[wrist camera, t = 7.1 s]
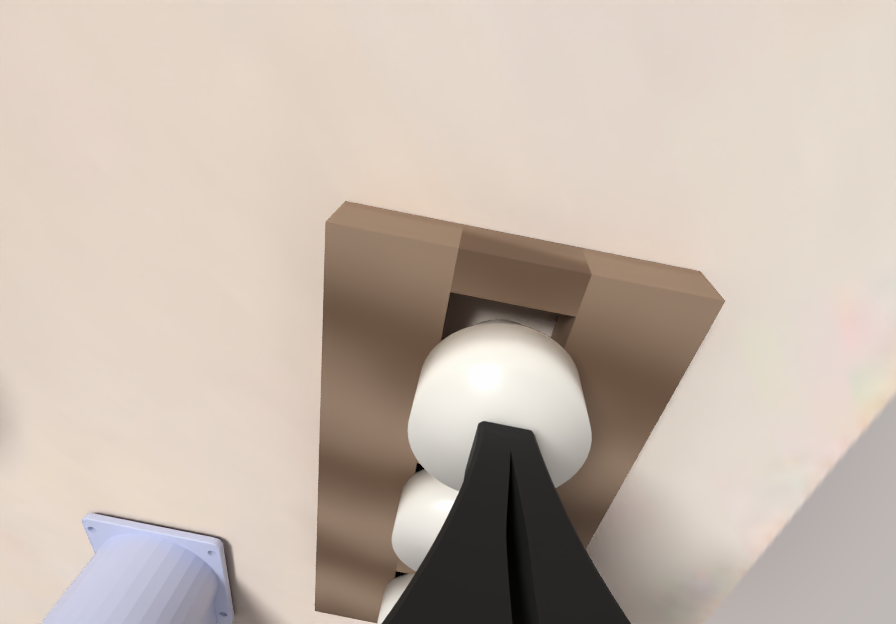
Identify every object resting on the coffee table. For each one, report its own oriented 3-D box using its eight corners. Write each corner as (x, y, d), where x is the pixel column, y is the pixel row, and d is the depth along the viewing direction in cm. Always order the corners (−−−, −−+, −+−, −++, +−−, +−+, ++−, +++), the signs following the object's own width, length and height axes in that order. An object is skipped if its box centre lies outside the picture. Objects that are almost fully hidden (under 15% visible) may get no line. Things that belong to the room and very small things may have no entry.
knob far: (468, 596, 26) (464, 674, 23) (387, 580, 26) (371, 656, 23) (486, 549, 24) (483, 629, 21) (396, 531, 24) (379, 608, 21)
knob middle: (499, 511, 22) (499, 592, 19) (403, 492, 22) (386, 570, 19) (524, 443, 20) (528, 523, 17) (415, 422, 20) (398, 497, 17)
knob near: (549, 420, 17) (560, 513, 13) (418, 394, 17) (398, 481, 13) (592, 308, 14) (619, 389, 11) (439, 278, 14) (420, 350, 11)
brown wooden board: (525, 614, 27) (526, 653, 25) (326, 574, 27) (314, 610, 25) (700, 271, 15) (725, 301, 13) (345, 201, 15) (325, 221, 14)
